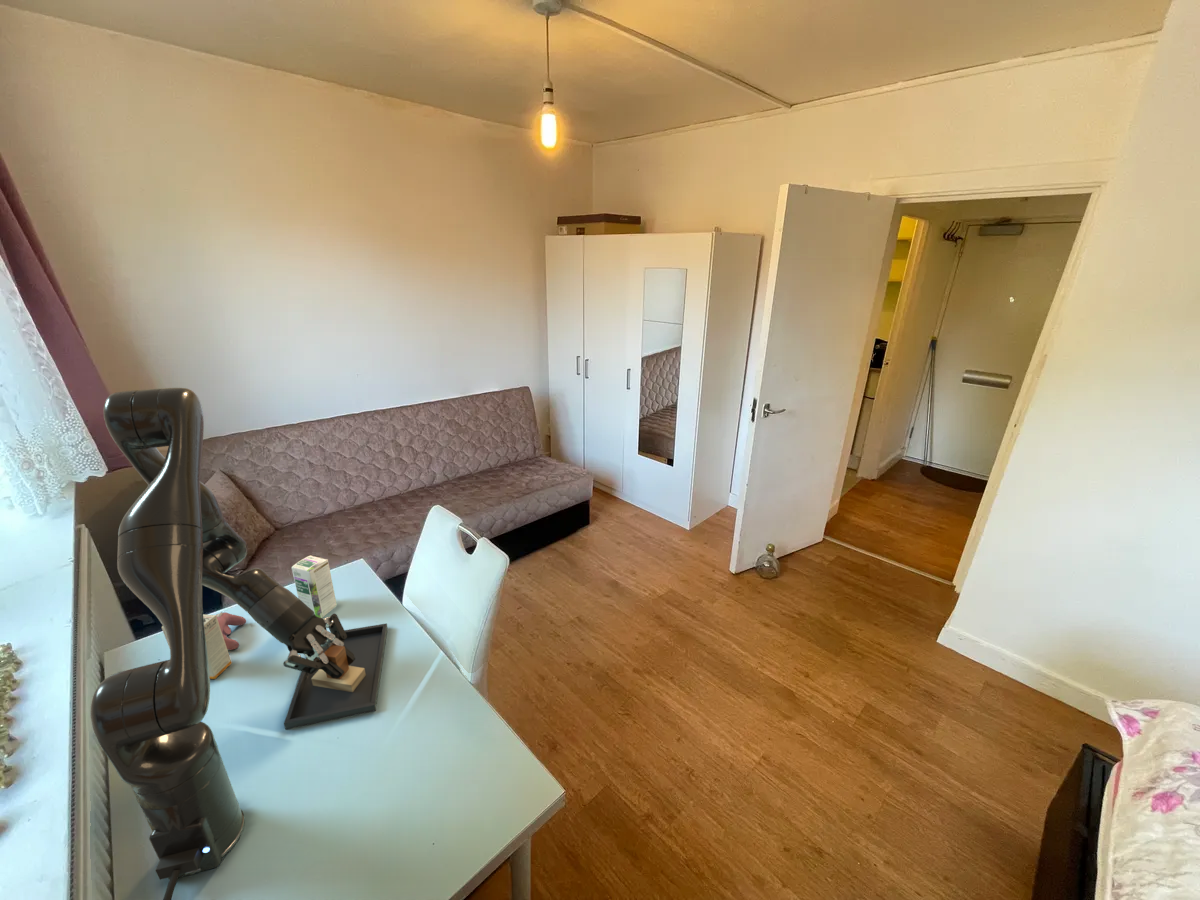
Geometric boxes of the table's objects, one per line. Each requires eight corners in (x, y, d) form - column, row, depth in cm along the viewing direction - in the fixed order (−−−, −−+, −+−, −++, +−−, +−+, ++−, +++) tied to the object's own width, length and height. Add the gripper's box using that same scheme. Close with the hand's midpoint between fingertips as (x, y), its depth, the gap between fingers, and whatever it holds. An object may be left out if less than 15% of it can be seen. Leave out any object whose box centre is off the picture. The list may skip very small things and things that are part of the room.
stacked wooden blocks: (366, 675, 103) (360, 645, 100) (352, 692, 99) (346, 662, 96) (327, 668, 105) (320, 639, 102) (312, 685, 100) (305, 655, 97)
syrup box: (301, 616, 120) (289, 567, 115) (320, 601, 125) (309, 553, 120) (319, 621, 118) (308, 572, 113) (338, 606, 124) (328, 558, 118)
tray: (376, 712, 96) (374, 705, 95) (286, 731, 91) (283, 723, 91) (388, 630, 117) (386, 623, 116) (315, 642, 112) (313, 635, 111)
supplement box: (233, 662, 106) (218, 614, 101) (215, 680, 102) (198, 630, 97) (198, 658, 107) (181, 610, 102) (178, 676, 102) (159, 626, 97)
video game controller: (230, 631, 117) (207, 613, 113) (249, 619, 118) (226, 601, 114) (221, 660, 108) (195, 642, 105) (240, 647, 109) (216, 629, 106)
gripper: (262, 628, 90) (333, 688, 92) (315, 582, 103) (376, 636, 105) (243, 647, 92) (313, 704, 95) (297, 599, 105) (358, 651, 108)
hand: (346, 668), depth 100 cm, fingers closed on stacked wooden blocks, 3 cm apart
